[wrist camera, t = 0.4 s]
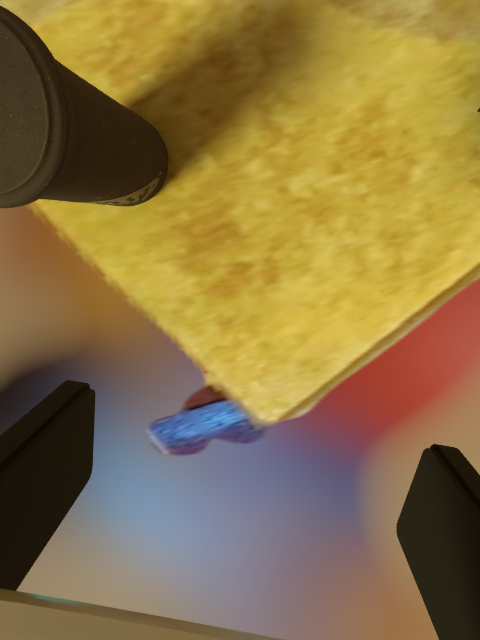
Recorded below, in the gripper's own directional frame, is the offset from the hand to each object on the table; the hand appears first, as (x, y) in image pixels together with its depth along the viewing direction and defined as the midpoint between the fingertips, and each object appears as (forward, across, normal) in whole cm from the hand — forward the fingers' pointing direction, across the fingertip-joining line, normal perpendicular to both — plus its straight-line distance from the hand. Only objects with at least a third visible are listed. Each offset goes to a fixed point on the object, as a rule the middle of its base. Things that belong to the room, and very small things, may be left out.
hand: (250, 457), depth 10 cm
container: (+29, +15, -9) cm, 34 cm away
